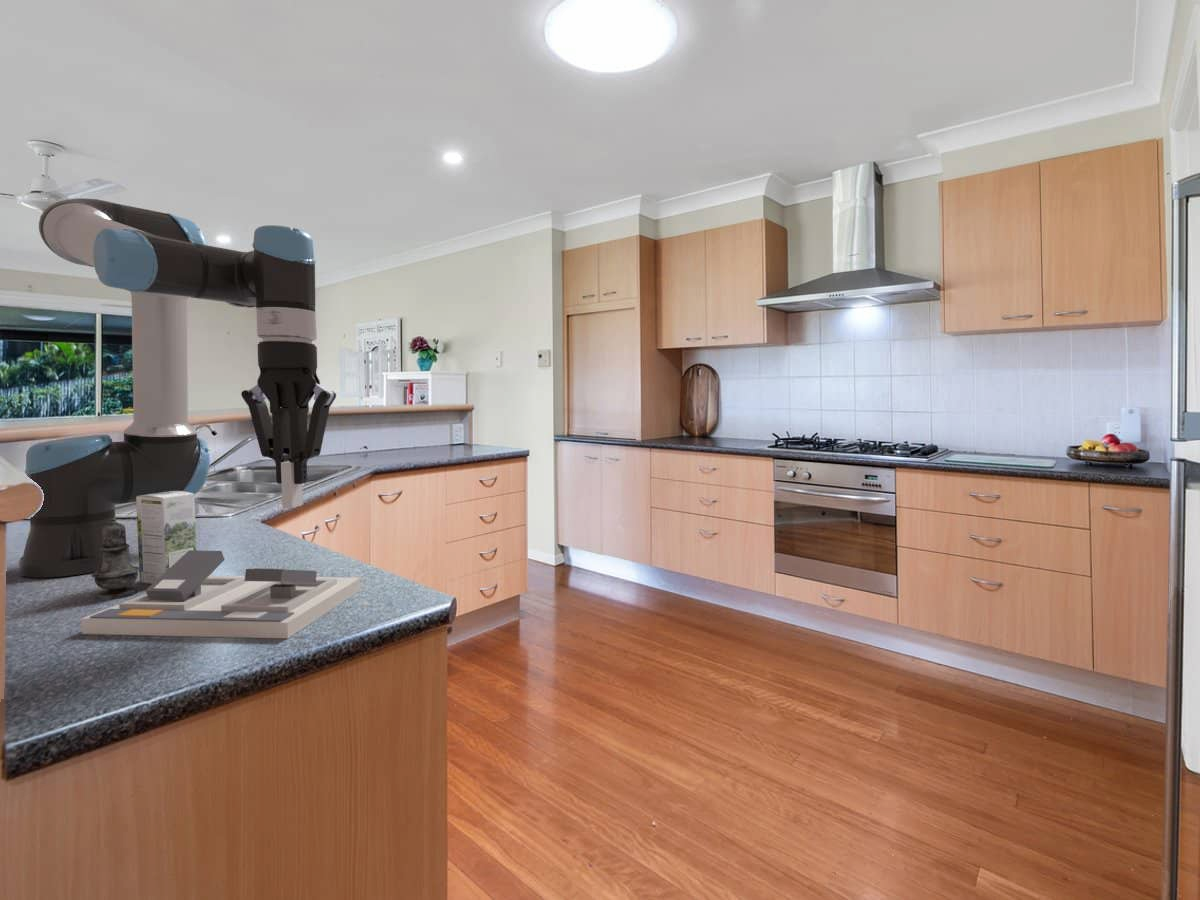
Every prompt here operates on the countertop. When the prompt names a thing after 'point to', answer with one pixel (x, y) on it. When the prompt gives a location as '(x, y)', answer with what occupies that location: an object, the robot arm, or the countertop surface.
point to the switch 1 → (185, 575)
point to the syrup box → (164, 531)
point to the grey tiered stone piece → (115, 564)
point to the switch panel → (227, 609)
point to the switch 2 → (279, 575)
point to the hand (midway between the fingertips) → (292, 506)
